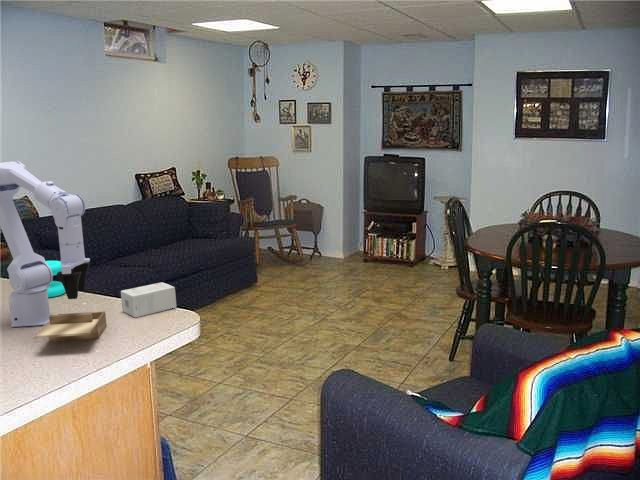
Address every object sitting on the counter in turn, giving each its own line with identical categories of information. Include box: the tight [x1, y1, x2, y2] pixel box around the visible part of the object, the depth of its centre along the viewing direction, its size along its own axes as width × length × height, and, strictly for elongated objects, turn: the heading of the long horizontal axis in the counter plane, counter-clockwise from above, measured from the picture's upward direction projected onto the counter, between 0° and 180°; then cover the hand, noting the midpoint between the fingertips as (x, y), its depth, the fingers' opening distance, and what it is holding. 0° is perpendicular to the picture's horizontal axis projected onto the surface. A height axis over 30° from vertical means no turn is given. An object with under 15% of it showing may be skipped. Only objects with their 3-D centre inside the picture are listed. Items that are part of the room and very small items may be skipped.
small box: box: [120, 281, 177, 318], centre depth 191 cm, size 8×6×13 cm
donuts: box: [45, 260, 66, 299], centre depth 209 cm, size 10×10×10 cm
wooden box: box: [48, 311, 107, 342], centre depth 173 cm, size 12×10×4 cm
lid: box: [34, 312, 99, 339], centre depth 163 cm, size 12×10×2 cm
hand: (76, 294), depth 173 cm, fingers open, 7 cm apart
